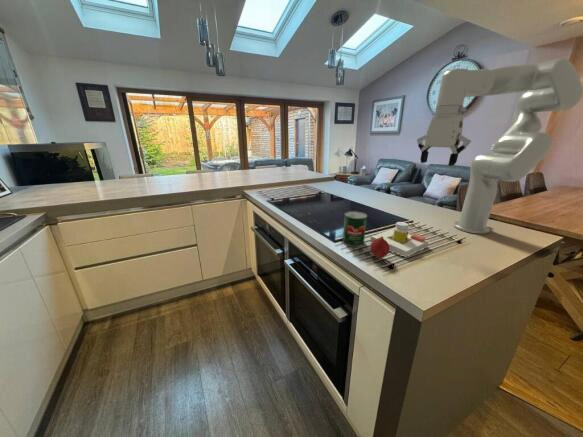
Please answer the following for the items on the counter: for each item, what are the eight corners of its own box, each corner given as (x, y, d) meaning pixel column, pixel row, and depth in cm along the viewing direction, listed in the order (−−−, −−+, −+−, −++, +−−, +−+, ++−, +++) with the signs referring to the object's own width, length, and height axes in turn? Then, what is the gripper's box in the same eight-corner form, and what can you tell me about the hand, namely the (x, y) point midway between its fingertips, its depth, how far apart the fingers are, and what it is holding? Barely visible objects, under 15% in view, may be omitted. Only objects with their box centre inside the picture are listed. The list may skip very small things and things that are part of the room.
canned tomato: (356, 236, 93) (359, 210, 90) (368, 245, 86) (371, 216, 83) (338, 239, 91) (340, 212, 87) (349, 247, 84) (352, 219, 80)
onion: (365, 255, 79) (368, 234, 76) (378, 252, 81) (381, 231, 78) (377, 264, 74) (381, 241, 71) (391, 260, 76) (395, 238, 73)
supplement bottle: (407, 248, 84) (411, 226, 81) (393, 247, 85) (396, 225, 82) (403, 242, 88) (407, 221, 85) (390, 241, 89) (394, 220, 86)
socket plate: (392, 234, 96) (394, 226, 94) (427, 247, 85) (429, 238, 83) (370, 242, 88) (371, 234, 87) (405, 258, 77) (406, 248, 76)
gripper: (482, 111, 74) (468, 165, 80) (427, 114, 88) (419, 161, 94) (472, 109, 70) (458, 167, 76) (416, 113, 84) (408, 162, 90)
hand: (436, 163), depth 85 cm, fingers open, 9 cm apart
